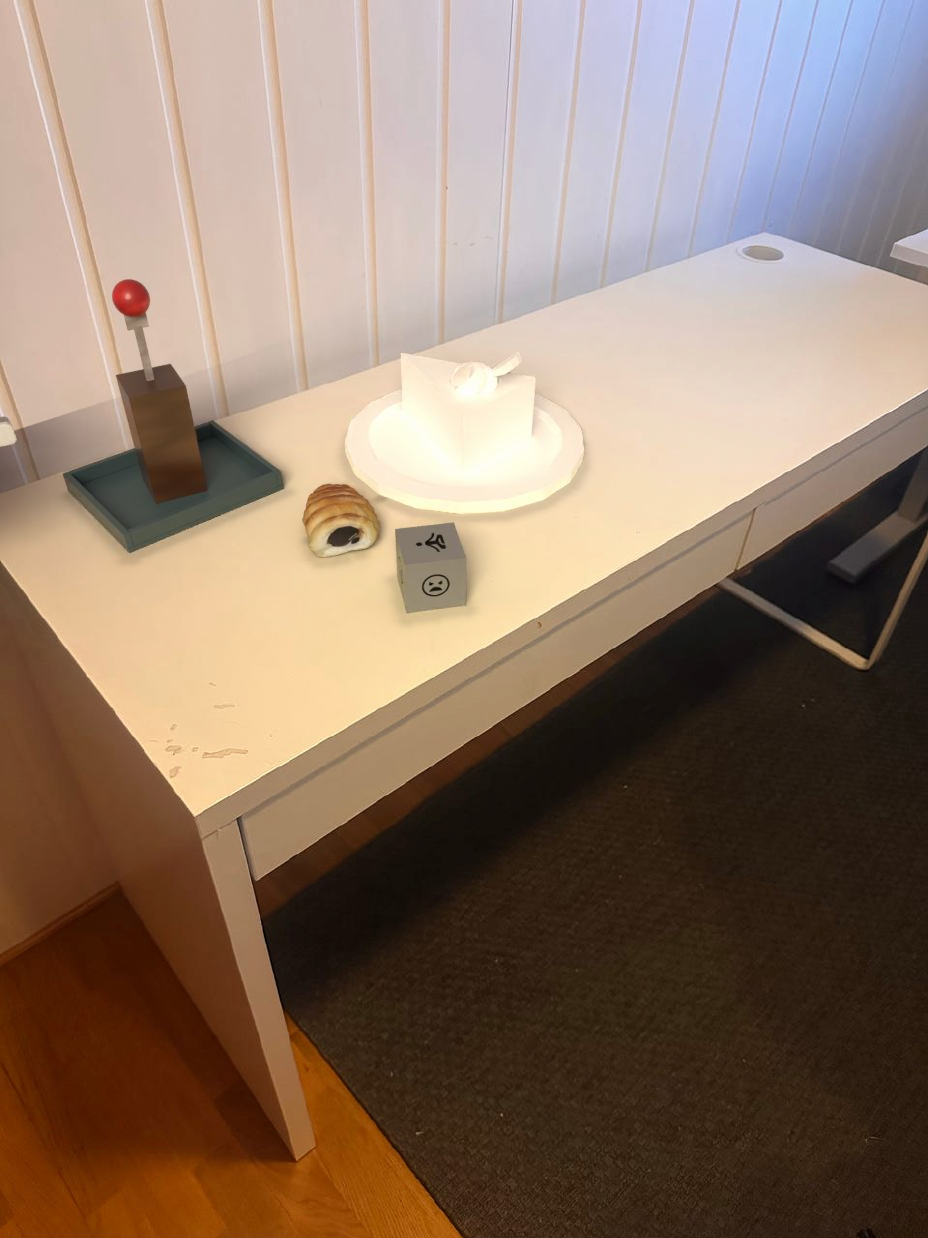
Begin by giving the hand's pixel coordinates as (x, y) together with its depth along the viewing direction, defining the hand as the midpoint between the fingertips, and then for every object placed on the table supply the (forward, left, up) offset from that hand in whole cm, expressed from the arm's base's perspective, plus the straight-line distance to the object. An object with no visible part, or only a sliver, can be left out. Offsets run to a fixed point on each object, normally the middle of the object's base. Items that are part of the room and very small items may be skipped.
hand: (5, 404), depth 75 cm
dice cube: (+21, -30, -12) cm, 39 cm away
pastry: (+20, -18, -12) cm, 30 cm away
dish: (+39, -14, -12) cm, 43 cm away
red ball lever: (+12, -2, -12) cm, 17 cm away
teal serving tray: (+12, -2, -12) cm, 17 cm away
